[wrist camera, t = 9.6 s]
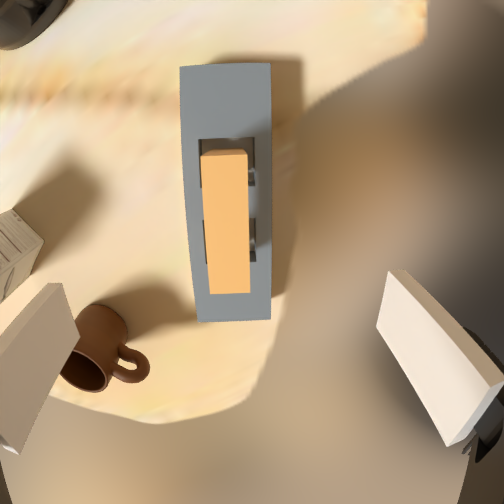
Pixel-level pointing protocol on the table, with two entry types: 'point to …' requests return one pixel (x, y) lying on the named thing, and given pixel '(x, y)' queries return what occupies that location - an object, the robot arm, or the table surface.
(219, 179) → the tall wooden block
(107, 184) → the table surface
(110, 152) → the table surface
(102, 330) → the mug
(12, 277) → the supplement box
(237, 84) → the rail
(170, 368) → the table surface
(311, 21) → the table surface
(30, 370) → the robot arm
